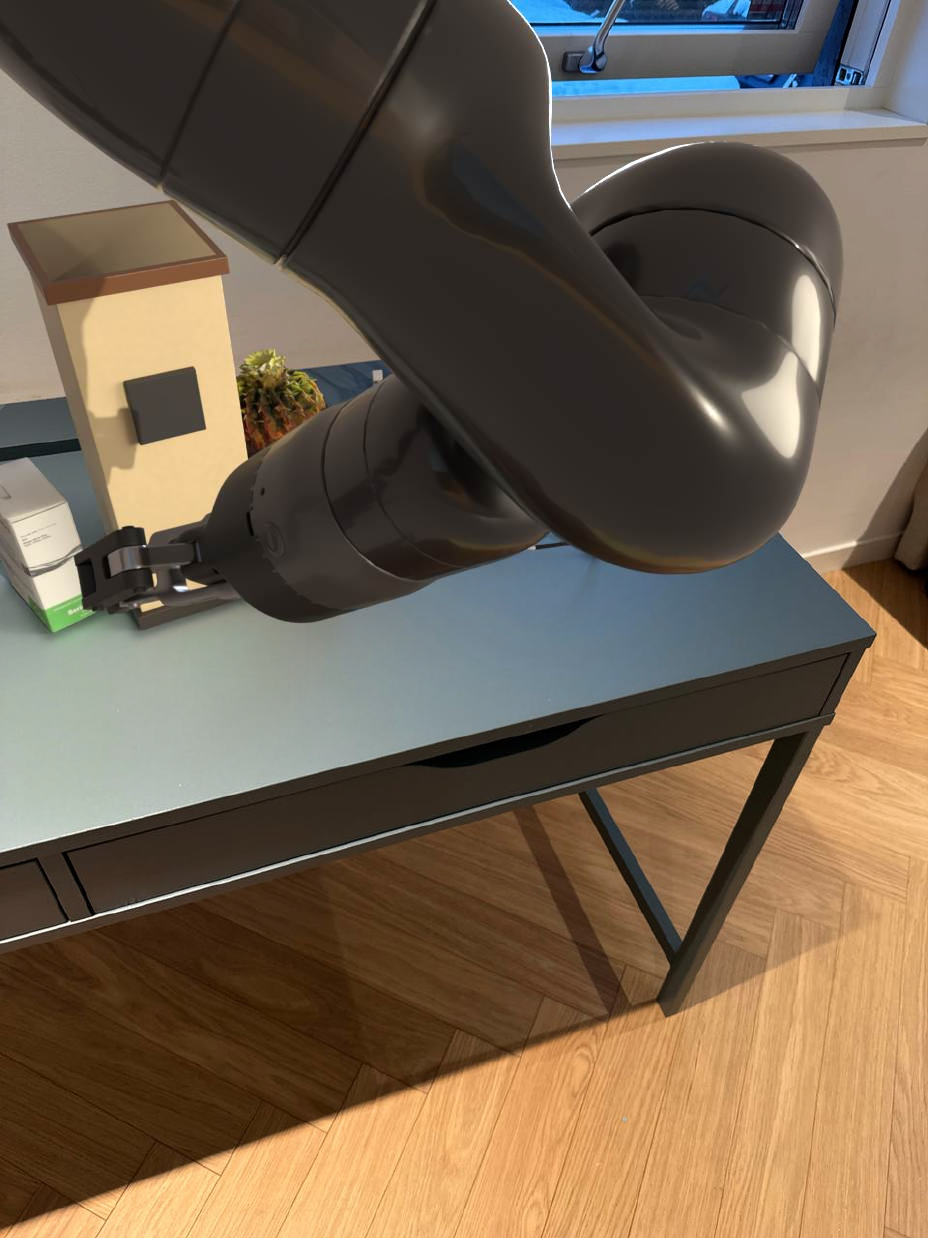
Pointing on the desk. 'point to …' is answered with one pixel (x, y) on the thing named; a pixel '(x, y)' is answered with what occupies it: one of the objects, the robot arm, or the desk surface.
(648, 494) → the robot arm
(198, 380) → the tall tapered bin
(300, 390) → the cactus
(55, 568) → the ink box
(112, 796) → the desk surface
